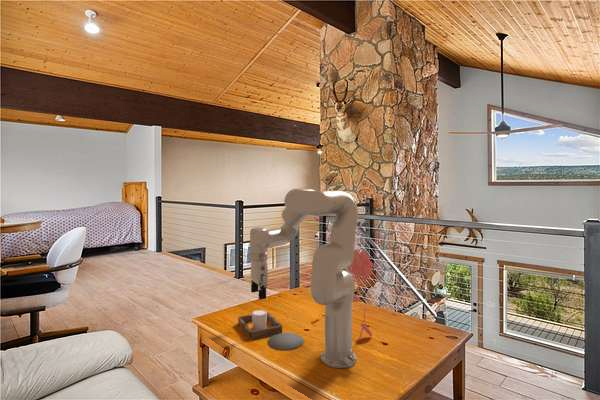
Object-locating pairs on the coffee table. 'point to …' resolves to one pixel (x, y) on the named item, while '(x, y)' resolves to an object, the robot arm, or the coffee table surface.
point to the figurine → (359, 269)
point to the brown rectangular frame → (262, 332)
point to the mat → (286, 341)
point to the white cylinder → (259, 319)
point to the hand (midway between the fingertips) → (258, 295)
